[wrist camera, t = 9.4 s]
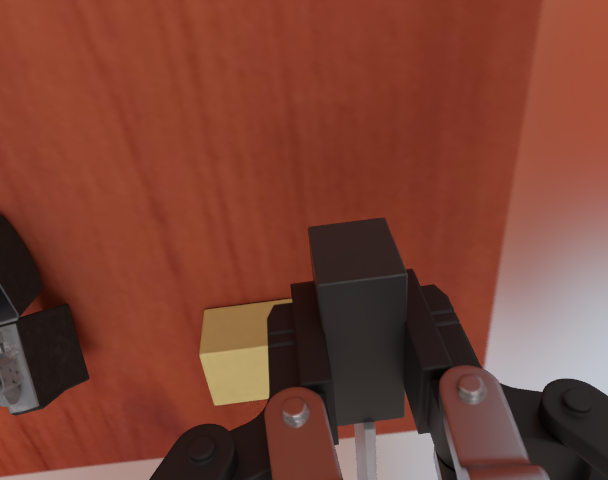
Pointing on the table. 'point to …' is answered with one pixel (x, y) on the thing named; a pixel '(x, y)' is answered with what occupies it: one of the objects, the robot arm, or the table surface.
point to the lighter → (32, 335)
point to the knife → (362, 326)
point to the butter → (236, 352)
